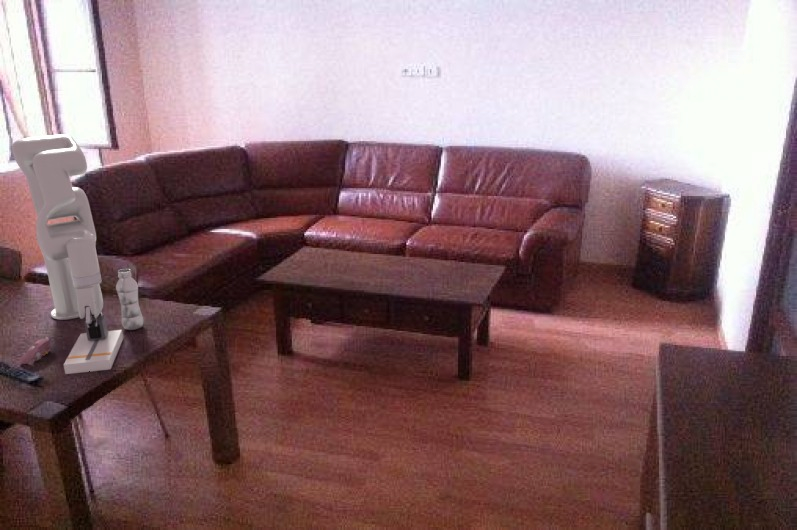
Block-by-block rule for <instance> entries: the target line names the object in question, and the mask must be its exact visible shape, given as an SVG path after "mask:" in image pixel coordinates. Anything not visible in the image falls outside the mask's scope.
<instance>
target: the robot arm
mask: <svg viewBox="0 0 797 530" xmlns="http://www.w3.org/2000/svg"><path fill="white" fill-rule="evenodd" d="M11 150H12V154H13V158H14V160H15V162H16V164H17V166H18V167H19V169H20V170H21V172H22V173H23V175H24V176H25V178H26V181H27V183H28V189H29V191H30V196H31V200H32V204H33V207H34V210H35V213H36V216H37V218H36V225H35V226H36V235H35V236H36V241H37V245H38V247H39V249H40V252H41V254H42V257H43V261H44V263H45V264H44V265H45V268H46V273H47V276H48V282H49V287H50V291H51V296H52V299H53V300H52V301H53V304H54V309H52V310H51V312H50V316H51V317H52V319H55V320H60V321H61V320H62V321H64V320H66V321H67V320H73V319H77V318H79V319H80V320H83V319H84V318H85V320H86V324H87V326H88V331H89V336H90V339H96V338H101V337H102V335H101V330H100V325H98V319H97V317H98V316H103V311H102V310H103V308H104V300H103V294H102V290H101V285H100V284H101V283H102V275H101V270H100V265H99V259H98V255H97V253H98V252H97V249H96V245H97V243H96V242H97V232H96V228H95V224H94V220H93V215H92V211H91V206H90V202H89V199H88V196H87V195H86V193H85V191H84V189H82V188H80V187H78V186H77V187H76V186H72V181H71V178H70V177H73V176H81V175H84V174H85V173H86V172H87V169H88V164H87V163H88V162H87V159H86V157H85V154H84V152H83V151H82V149H81V148H80V146H79V144H78V143H77V141H76V140H75V139H74V138H73V137H72V136H71V135H69V134H65V133H64V134H61V133H60V134H52V135H39V136H30V137H24V138H20V139H18V140H16V141H14V142H13V143H12V147H11ZM72 217H75V218H76V219H75V220H74V219H73V220H70V221H69V220H68V221H61V222H56V223H51V224H48V221H52V220H59V219H66V218H72ZM92 319H95V321H94V320H93V321H92Z"/></svg>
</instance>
